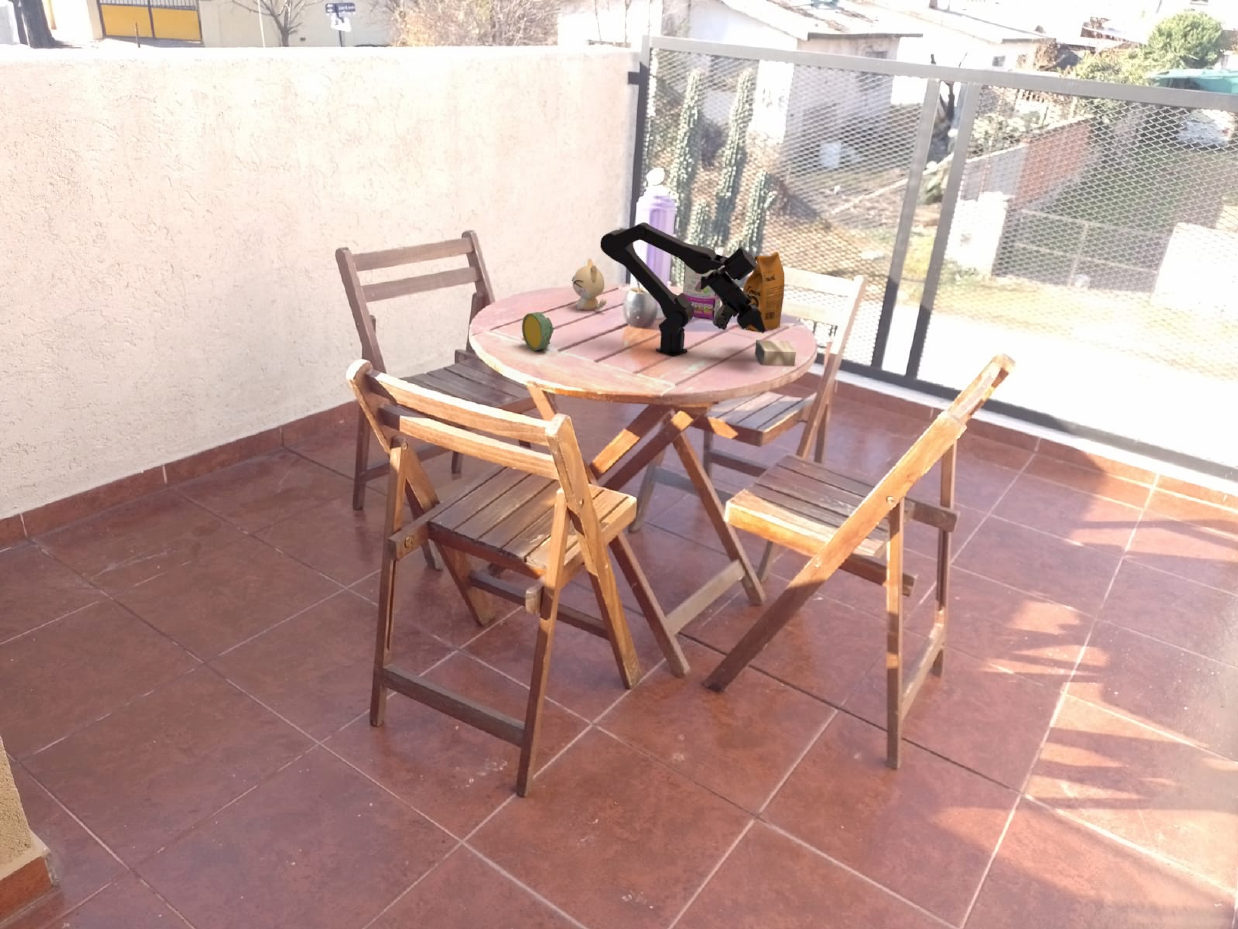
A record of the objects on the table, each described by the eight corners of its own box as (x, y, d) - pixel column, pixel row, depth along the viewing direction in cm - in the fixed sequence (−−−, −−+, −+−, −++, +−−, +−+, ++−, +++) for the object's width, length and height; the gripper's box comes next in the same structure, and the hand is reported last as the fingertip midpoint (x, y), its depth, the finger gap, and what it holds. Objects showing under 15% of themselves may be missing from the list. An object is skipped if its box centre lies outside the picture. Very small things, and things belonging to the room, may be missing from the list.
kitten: (568, 302, 290) (569, 256, 284) (599, 302, 292) (600, 256, 286) (575, 315, 277) (575, 266, 271) (607, 315, 279) (608, 266, 272)
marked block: (762, 351, 238) (796, 352, 239) (756, 339, 248) (788, 340, 248) (761, 365, 240) (794, 366, 241) (754, 353, 249) (787, 354, 250)
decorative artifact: (521, 345, 248) (521, 309, 243) (543, 341, 252) (543, 306, 247) (542, 354, 241) (542, 318, 236) (563, 350, 245) (564, 314, 240)
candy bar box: (719, 317, 282) (724, 264, 275) (713, 320, 278) (718, 267, 271) (687, 311, 286) (690, 259, 279) (680, 314, 282) (684, 262, 275)
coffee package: (733, 326, 273) (740, 253, 264) (759, 319, 281) (766, 248, 272) (759, 333, 266) (767, 259, 257) (784, 326, 274) (793, 254, 265)
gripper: (699, 301, 247) (736, 341, 252) (707, 320, 230) (746, 362, 235) (731, 273, 244) (767, 314, 249) (741, 290, 227) (779, 334, 232)
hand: (764, 331), depth 241 cm, fingers closed
